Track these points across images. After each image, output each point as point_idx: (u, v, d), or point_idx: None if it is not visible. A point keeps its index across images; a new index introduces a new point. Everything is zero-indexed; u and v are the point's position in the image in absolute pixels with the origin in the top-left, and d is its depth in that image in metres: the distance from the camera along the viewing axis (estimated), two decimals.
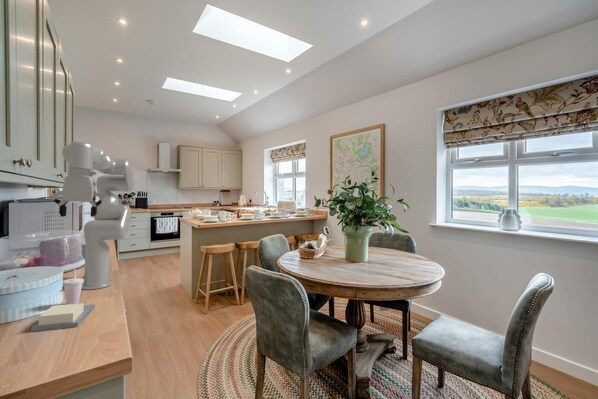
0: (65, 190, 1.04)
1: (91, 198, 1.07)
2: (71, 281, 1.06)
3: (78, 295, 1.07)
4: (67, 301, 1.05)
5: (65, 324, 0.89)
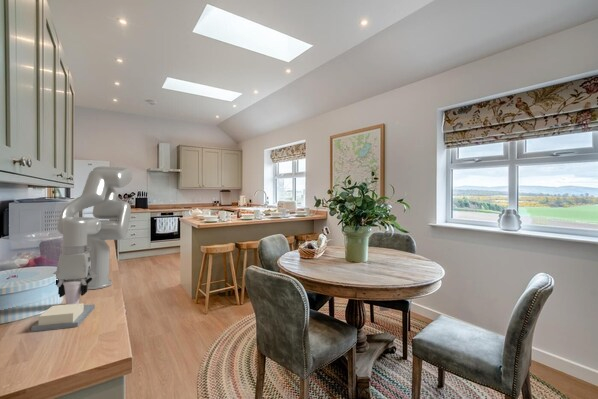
0: (59, 269, 1.04)
1: (86, 275, 1.07)
2: (71, 281, 1.06)
3: (78, 295, 1.07)
4: (67, 301, 1.05)
5: (65, 324, 0.89)
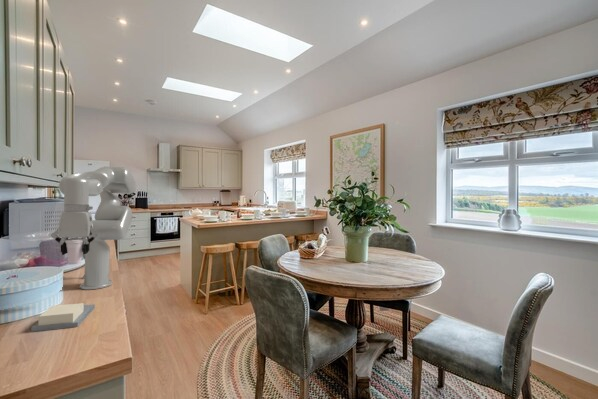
0: (61, 227, 1.04)
1: (88, 233, 1.08)
2: (73, 239, 1.06)
3: (80, 254, 1.08)
4: (69, 259, 1.06)
5: (65, 324, 0.89)
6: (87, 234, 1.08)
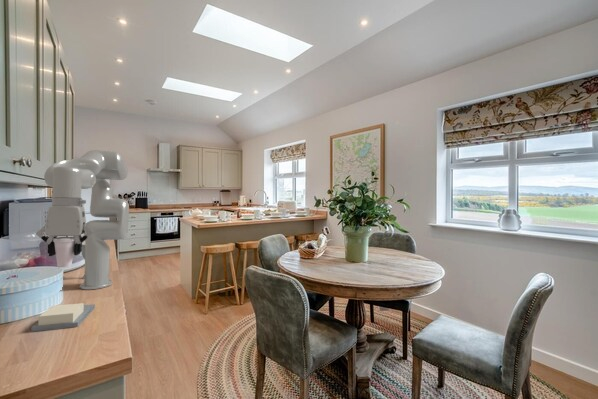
0: (49, 224, 0.89)
1: (79, 231, 0.93)
2: (62, 238, 0.91)
3: (71, 255, 0.93)
4: (58, 261, 0.91)
5: (65, 324, 0.89)
6: (79, 232, 0.92)
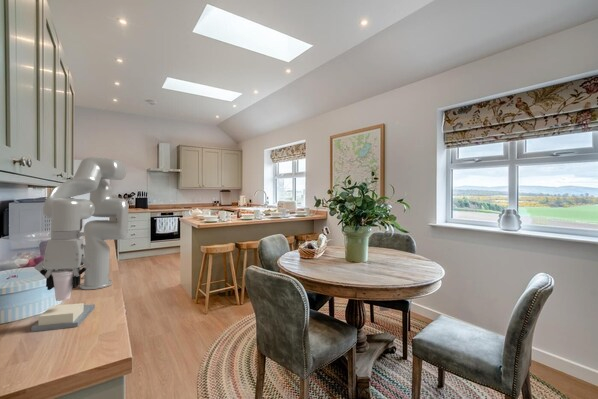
0: (47, 258, 0.89)
1: (78, 264, 0.92)
2: (61, 271, 0.91)
3: (69, 288, 0.92)
4: (56, 294, 0.91)
5: (65, 324, 0.89)
6: (78, 265, 0.92)
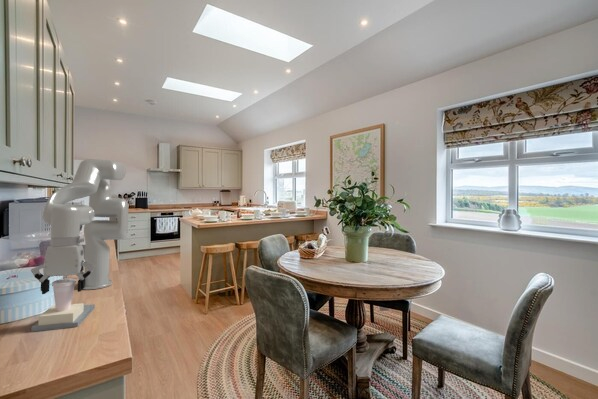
0: (47, 264, 0.89)
1: (78, 270, 0.92)
2: (61, 282, 0.91)
3: (69, 298, 0.93)
4: (56, 305, 0.91)
5: (65, 324, 0.89)
6: (77, 271, 0.92)
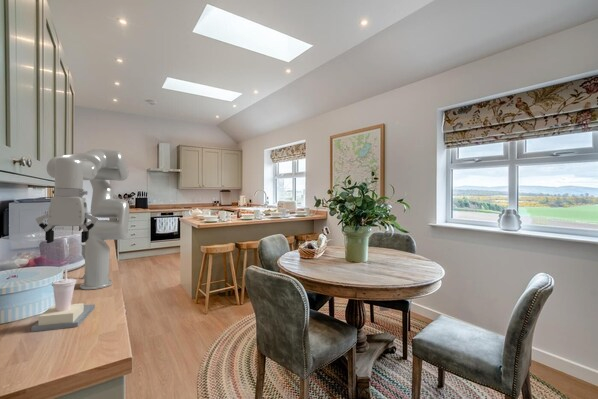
0: (51, 214, 0.91)
1: (82, 222, 0.95)
2: (61, 282, 0.91)
3: (69, 298, 0.93)
4: (56, 305, 0.91)
5: (65, 324, 0.89)
6: (81, 222, 0.95)
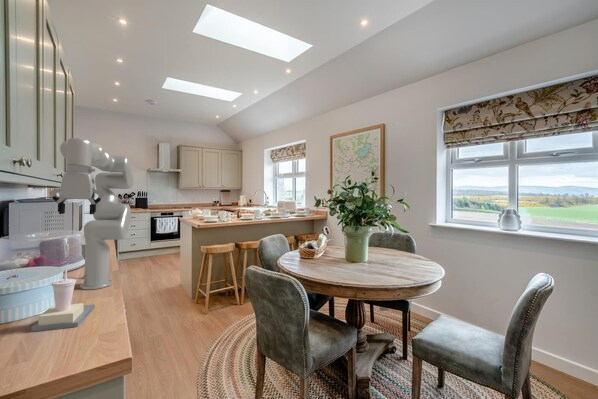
0: (63, 187, 1.02)
1: (90, 195, 1.06)
2: (61, 282, 0.91)
3: (69, 298, 0.93)
4: (56, 305, 0.91)
5: (65, 324, 0.89)
6: (89, 196, 1.06)
